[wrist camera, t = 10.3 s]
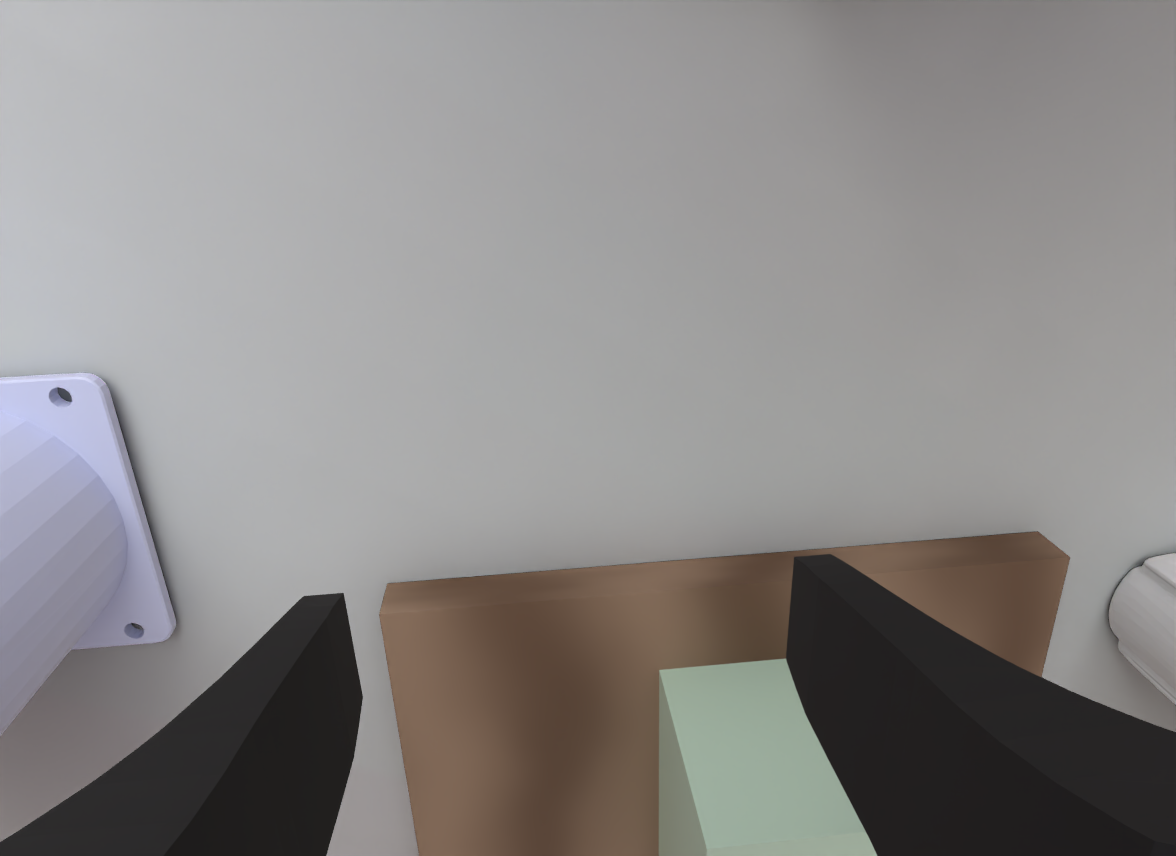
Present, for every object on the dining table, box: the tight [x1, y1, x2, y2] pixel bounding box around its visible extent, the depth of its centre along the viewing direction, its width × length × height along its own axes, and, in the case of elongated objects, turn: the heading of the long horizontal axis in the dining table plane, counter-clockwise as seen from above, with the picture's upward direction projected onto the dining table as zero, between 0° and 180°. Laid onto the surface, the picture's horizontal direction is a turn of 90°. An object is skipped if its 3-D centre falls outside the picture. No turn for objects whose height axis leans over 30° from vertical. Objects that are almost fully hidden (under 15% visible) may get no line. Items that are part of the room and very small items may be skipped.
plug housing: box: [659, 659, 877, 856], centre depth 22 cm, size 4×8×6 cm, turn 2°
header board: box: [379, 532, 1070, 856], centre depth 24 cm, size 20×14×4 cm
